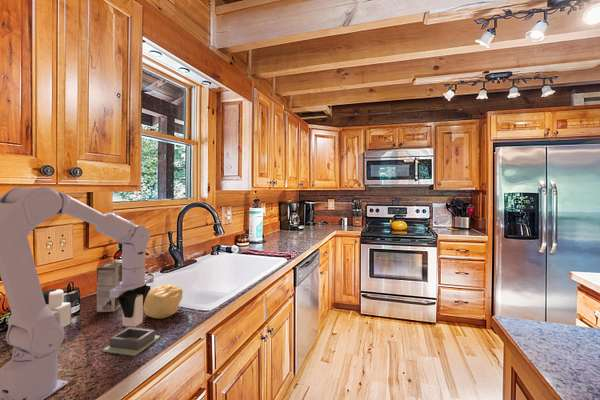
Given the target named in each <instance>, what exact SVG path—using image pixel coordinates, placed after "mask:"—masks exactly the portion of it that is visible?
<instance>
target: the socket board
mask: <svg viewBox="0 0 600 400" xmlns="http://www.w3.org/2000/svg"><path fill="white" fill-rule="evenodd" d="M160 339H161V335H157V334H156V329H150V328H149V329H148V328H140V327H134V326H128V327H127V328H125V329H123V330H122V331H120V332H118V333H116V334H114V335H113V336H111V337H110V338H109V342H108V343H109V345H108V346H106V347H104V348H103V349H102V352H103V353H110V354H111V353H112V354H119V355H126V356H135V357H136V356H137V355H139V354H140V353H141V352H142V351H145V350H146V349H147V348H149V347H150V346H151V345H152V344H154V343H155V342H156V341H158V340H160Z"/></svg>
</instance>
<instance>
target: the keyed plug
mask: <svg viewBox="0 0 600 400" xmlns="http://www.w3.org/2000/svg"><path fill="white" fill-rule="evenodd" d="M143 310H144V307H143V295H142V294H137V297H136V299H135V303H134V312H133V316H132V317H131V318H126V317H124V314H123V313H122V318H121V319H122V320H121V321H122V323H121V325H122V326H125V327H127V326H128V327H133V328H136V327H137V326H138V325H141V324H142V323H143V319H144V318H143V317H144V315H143V314H144V313H143V312H144V311H143Z"/></svg>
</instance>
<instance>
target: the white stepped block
mask: <svg viewBox="0 0 600 400" xmlns="http://www.w3.org/2000/svg"><path fill="white" fill-rule="evenodd" d="M42 292H43V296H44V300H45V303H46V306H47V307H48V308H49V309H58V310H59V312H60V325H61V326H62V327H63V328H64V329H65V327H67V326H69V325H70V324H71V322H72V321H71V320H72V319H71V313H72V312H71V309H72V308H71V307H72V306H71V305H72V303H71V302H67V301H66V302H64V298H65V297H64V290H63V289H60V288H54V289H47V290H44V291H43V290H42Z"/></svg>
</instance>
